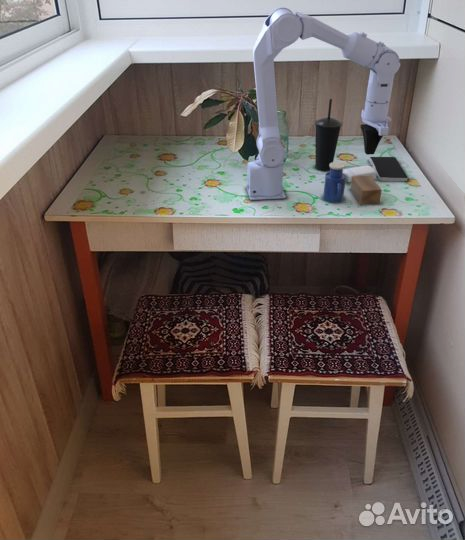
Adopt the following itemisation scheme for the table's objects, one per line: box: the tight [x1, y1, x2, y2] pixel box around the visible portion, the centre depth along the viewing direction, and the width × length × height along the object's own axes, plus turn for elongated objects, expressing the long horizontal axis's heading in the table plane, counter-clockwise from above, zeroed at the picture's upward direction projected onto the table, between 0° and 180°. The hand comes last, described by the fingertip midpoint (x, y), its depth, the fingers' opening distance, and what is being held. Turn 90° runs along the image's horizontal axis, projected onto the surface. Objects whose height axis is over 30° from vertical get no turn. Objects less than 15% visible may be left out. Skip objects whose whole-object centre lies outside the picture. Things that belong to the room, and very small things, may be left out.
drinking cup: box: [314, 98, 343, 172], centre depth 144 cm, size 8×8×20 cm
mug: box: [322, 161, 346, 204], centre depth 129 cm, size 9×7×10 cm
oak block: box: [349, 176, 382, 206], centre depth 132 cm, size 5×9×4 cm, turn 6°
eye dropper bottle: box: [343, 164, 377, 184], centre depth 141 cm, size 4×6×12 cm
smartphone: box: [368, 156, 409, 182], centre depth 147 cm, size 8×1×15 cm
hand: (369, 153), depth 131 cm, fingers closed
